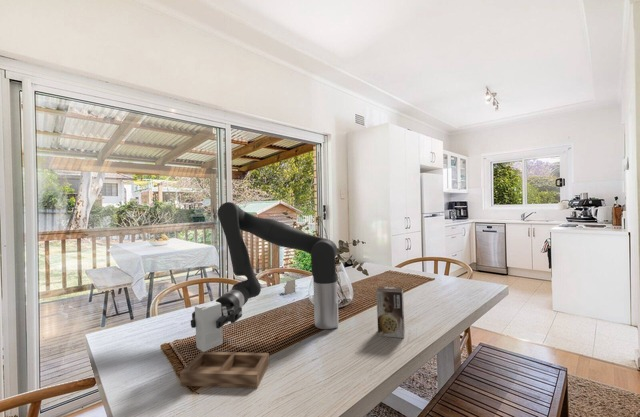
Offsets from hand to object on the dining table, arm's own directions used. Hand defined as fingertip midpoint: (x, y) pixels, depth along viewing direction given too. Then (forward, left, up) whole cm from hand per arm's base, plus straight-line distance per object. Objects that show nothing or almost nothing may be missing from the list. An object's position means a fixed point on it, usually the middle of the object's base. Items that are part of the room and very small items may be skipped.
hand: (205, 324), depth 83 cm
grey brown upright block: (-54, -31, -15) cm, 64 cm away
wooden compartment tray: (-5, -2, -15) cm, 16 cm away
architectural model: (-7, -81, -16) cm, 83 cm away
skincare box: (0, -2, -7) cm, 8 cm away
